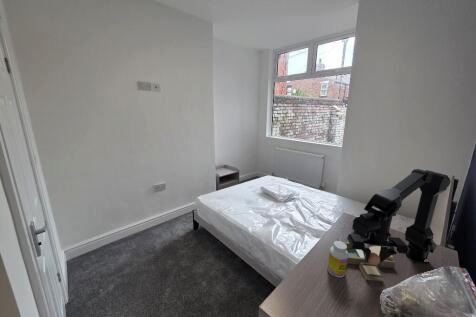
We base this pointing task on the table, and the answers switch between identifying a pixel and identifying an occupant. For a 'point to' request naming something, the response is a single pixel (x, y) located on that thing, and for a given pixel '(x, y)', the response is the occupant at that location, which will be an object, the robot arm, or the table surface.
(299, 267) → the table surface
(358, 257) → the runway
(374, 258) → the ball
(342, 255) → the supplement bottle
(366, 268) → the grey framed beige square
